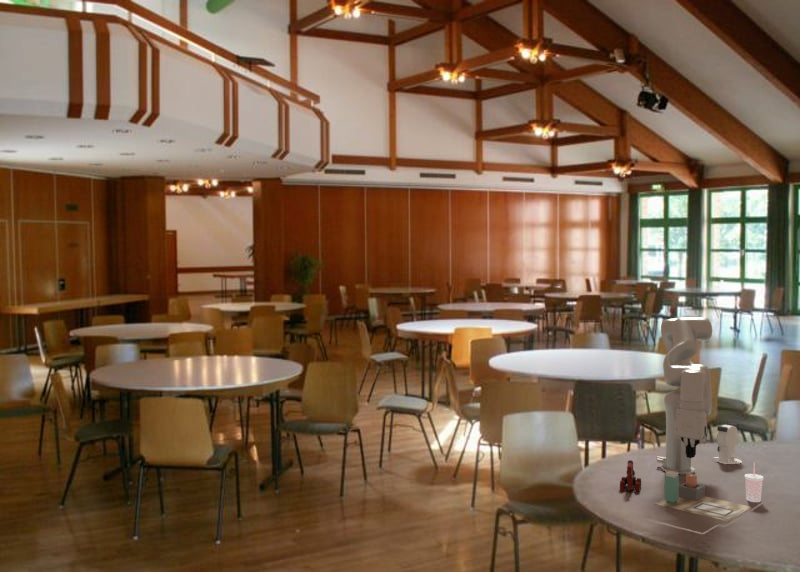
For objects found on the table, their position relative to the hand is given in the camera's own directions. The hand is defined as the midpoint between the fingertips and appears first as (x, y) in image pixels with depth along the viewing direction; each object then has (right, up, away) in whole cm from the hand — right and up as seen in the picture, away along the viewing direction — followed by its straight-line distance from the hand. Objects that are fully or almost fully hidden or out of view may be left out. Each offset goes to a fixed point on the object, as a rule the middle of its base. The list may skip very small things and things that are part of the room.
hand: (690, 456), depth 285 cm
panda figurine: (+33, -12, +50) cm, 61 cm away
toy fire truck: (-18, -15, +11) cm, 25 cm away
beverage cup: (+21, -15, -2) cm, 26 cm away
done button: (+1, -12, +1) cm, 12 cm away
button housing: (0, -14, +1) cm, 14 cm away
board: (+1, -15, -8) cm, 17 cm away
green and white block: (-9, -15, -5) cm, 18 cm away
